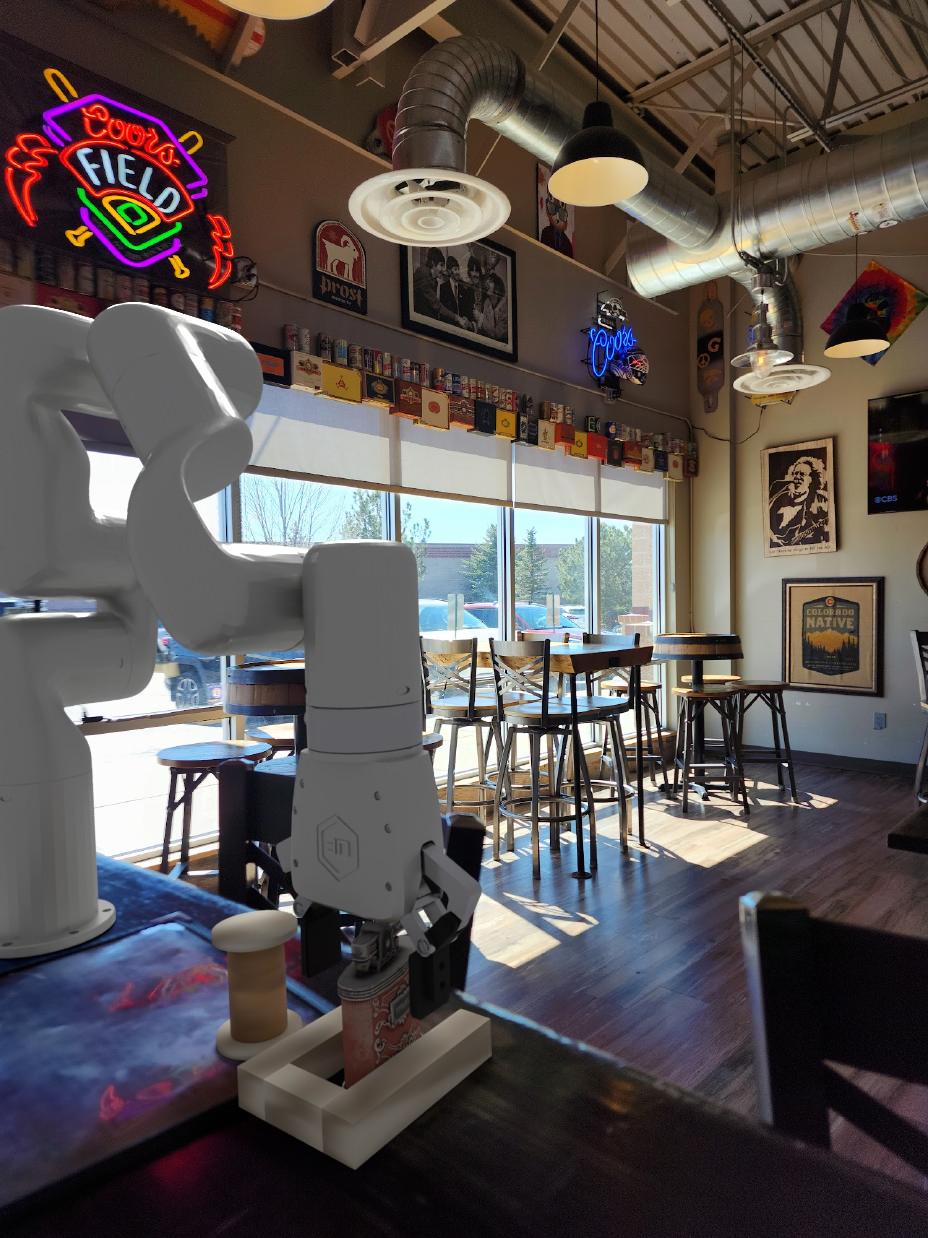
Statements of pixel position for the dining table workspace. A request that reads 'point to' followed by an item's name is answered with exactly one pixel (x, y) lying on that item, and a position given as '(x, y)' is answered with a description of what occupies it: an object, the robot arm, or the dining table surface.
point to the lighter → (376, 1000)
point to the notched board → (357, 1084)
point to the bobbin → (255, 982)
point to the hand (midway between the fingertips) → (373, 988)
